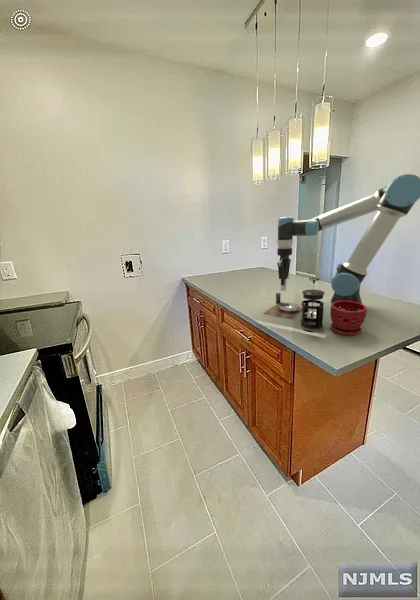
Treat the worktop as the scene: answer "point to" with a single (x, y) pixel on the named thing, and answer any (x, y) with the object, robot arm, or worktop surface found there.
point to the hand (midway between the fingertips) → (283, 290)
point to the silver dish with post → (287, 305)
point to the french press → (310, 315)
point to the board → (277, 312)
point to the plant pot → (347, 317)
